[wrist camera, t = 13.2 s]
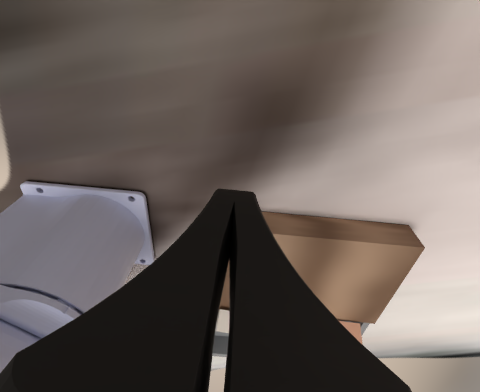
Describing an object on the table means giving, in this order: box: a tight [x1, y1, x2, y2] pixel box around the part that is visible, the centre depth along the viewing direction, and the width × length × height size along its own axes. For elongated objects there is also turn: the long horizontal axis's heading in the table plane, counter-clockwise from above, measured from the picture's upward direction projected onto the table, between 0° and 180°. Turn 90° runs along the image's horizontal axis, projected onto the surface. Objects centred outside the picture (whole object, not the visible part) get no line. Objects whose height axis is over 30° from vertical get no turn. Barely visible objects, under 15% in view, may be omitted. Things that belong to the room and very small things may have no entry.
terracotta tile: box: [339, 321, 362, 344], centre depth 27 cm, size 5×5×2 cm
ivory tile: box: [215, 309, 229, 334], centre depth 26 cm, size 5×5×2 cm
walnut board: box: [219, 212, 425, 324], centre depth 23 cm, size 16×10×2 cm, turn 85°
